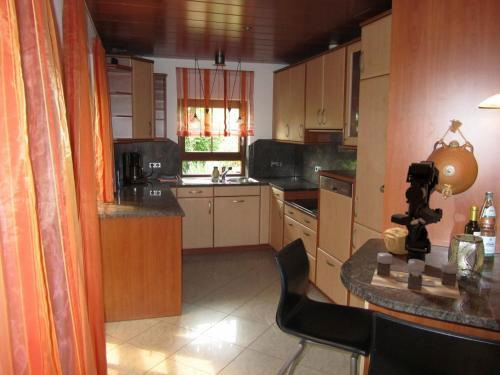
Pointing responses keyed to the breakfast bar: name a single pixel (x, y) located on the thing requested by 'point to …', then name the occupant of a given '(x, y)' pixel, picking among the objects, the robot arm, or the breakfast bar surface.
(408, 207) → the robot arm
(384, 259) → the button
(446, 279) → the button panel
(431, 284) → the pattern card
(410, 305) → the breakfast bar surface
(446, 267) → the button
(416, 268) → the far button
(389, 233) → the sculpture
